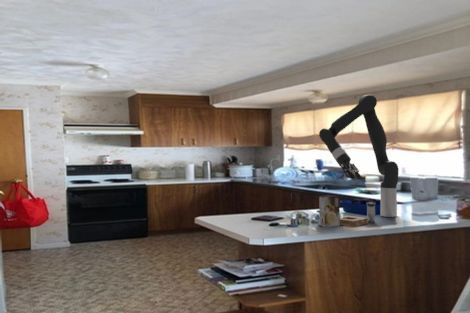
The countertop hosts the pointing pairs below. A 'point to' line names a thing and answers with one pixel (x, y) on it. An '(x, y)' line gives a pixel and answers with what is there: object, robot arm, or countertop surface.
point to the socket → (353, 221)
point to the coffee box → (329, 211)
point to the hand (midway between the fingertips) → (357, 178)
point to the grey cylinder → (371, 212)
